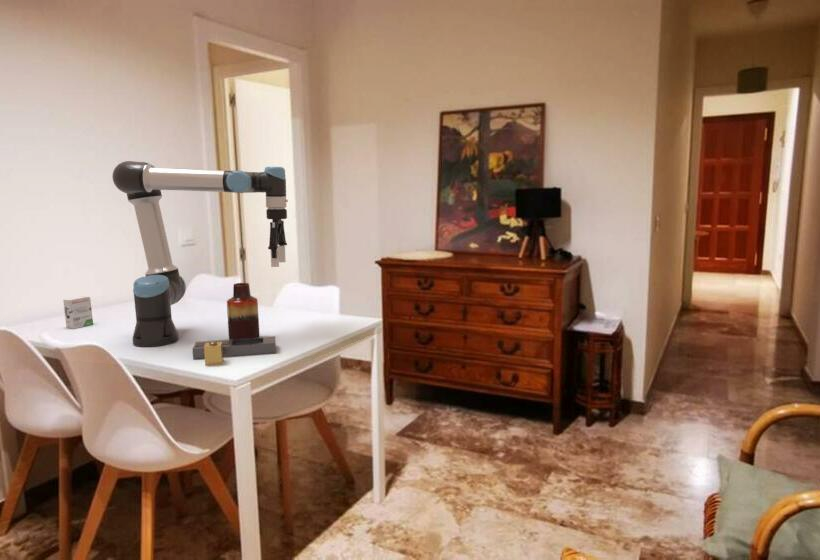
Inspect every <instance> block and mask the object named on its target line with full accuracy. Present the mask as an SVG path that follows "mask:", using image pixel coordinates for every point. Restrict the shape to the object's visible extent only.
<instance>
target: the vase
mask: <svg viewBox="0 0 820 560" xmlns="http://www.w3.org/2000/svg"><path fill="white" fill-rule="evenodd" d="M232 288H233V291H232V296H231V297H230V298H228V299H227V300H226V311H227V312H226V313H227V315H226V316H227V326H228V327H227V328H228V330H227V331H228V340H229V339H243V338H258V337H260V319H259V304H258V301H259V300H258V298H257V297H255V296H252V295H251V289H250V283H248V282H237V283H234V284H233V287H232Z"/></svg>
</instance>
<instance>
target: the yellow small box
mask: <svg viewBox="0 0 820 560" xmlns="http://www.w3.org/2000/svg"><path fill="white" fill-rule="evenodd" d="M213 341H214V340H213ZM204 355H205V359H204V366H205V367H206V366H215V365H216V366H218V365H223V362H224V357H223V347H222V342H215V341H214V342H209V343H205V346H204Z"/></svg>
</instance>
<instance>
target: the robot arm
mask: <svg viewBox="0 0 820 560" xmlns="http://www.w3.org/2000/svg"><path fill="white" fill-rule="evenodd" d="M111 176H112V181H113V185H114V186H115V187H116V188H117V190H119V191H120V192H123V193H125V194H126V197H127V201H128V202H129V203H130V204H132V205H133V207H134V211H135V216H136V219H137V220H136V221H137V224H138V229H139V232H140V238H141V242H142V245H143V250H144V256H145V258H146V259H145V260H146V263H147V270H146V272H145V273H144V274H145V275H144V276H141V277H138V278H137V279H135V280H134V281H133V284H132V285H133V288H132V292H133V300H134V301H133V302H134V308H135V319H136V323H135V327H134V330H133V335H132V345H133V346H135V347H142V348H143V347H145V348H146V347H148V348H149V347H150V348H151V347H158V346H165V345H169V344H173V343H175V342H177V341H178V340H179V333H178V330H177V327H176V326H175V323H174V320H173V318H172V306H173V305H175V304H177V303H178V302H180V300H182V298H183V297H184V295H185V294H186V290H187V285H186V281H185V280H184V277H182V276H181V275H180V272H179V268H178V267H177V266H176V265H174V263H173V260H172V256H171V252H170V248H169V242H168V237H167V233H166V230H165V229H166V228H165V224H164V219H163V214H162V211H161V206H160V200H161V199H162V197H163V195H162V191H186V192H187V191H188V192H189V191H191V192H211V193H212V192H213V193H215V192H216V193H218V192H219V193H235V194H245V193H247V194H249V193H250V194H251V193H260V194H261V193H265V208H267V209H266V212H265V213H266V219H268V220H272V221H271V222H270V223H269V225H270V226H269V228H270V229H269V245H268V247H267V249H268V250H270V265H271V266H270V267H271V268H279V267H280V263H286V246H287V245H288V242H287V240H286V233H285V226H284V225H285V221H284V220H286V219H288V210H287V203H288V201H289V200H288V199H287V178H286V170H285V168H284V167H283V166H266V167H264V171H262V172H260V171H259V172H257V171H255V172H254V171H251V172H250V171H243V170H223V169H222V170H221V169H200V168H198V169H197V168H173V167H172V168H171V167H155V165H152V164H150V163H148V162H145V161H134V160H127V161H122V162H121V163H118V164H117V165H116V166H115V167H114V169H113V171H112V175H111Z"/></svg>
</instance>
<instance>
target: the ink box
mask: <svg viewBox="0 0 820 560" xmlns="http://www.w3.org/2000/svg"><path fill="white" fill-rule="evenodd" d="M63 310H64V317H65V326H66V328H67V329H71V330H74V329H79V328H83V327H88V326H92V325H94V320H93V319H94V318H93V310H92V300H91V297H90V296H77V297H71V298H65V299H63Z"/></svg>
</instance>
